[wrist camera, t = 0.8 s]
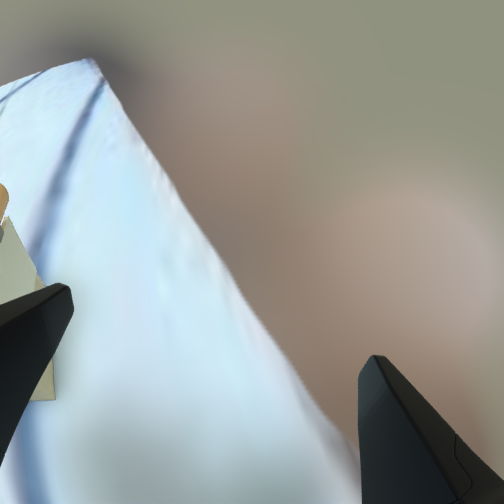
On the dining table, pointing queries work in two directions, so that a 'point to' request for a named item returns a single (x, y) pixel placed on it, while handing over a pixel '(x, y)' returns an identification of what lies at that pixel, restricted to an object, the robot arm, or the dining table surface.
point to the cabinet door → (13, 259)
